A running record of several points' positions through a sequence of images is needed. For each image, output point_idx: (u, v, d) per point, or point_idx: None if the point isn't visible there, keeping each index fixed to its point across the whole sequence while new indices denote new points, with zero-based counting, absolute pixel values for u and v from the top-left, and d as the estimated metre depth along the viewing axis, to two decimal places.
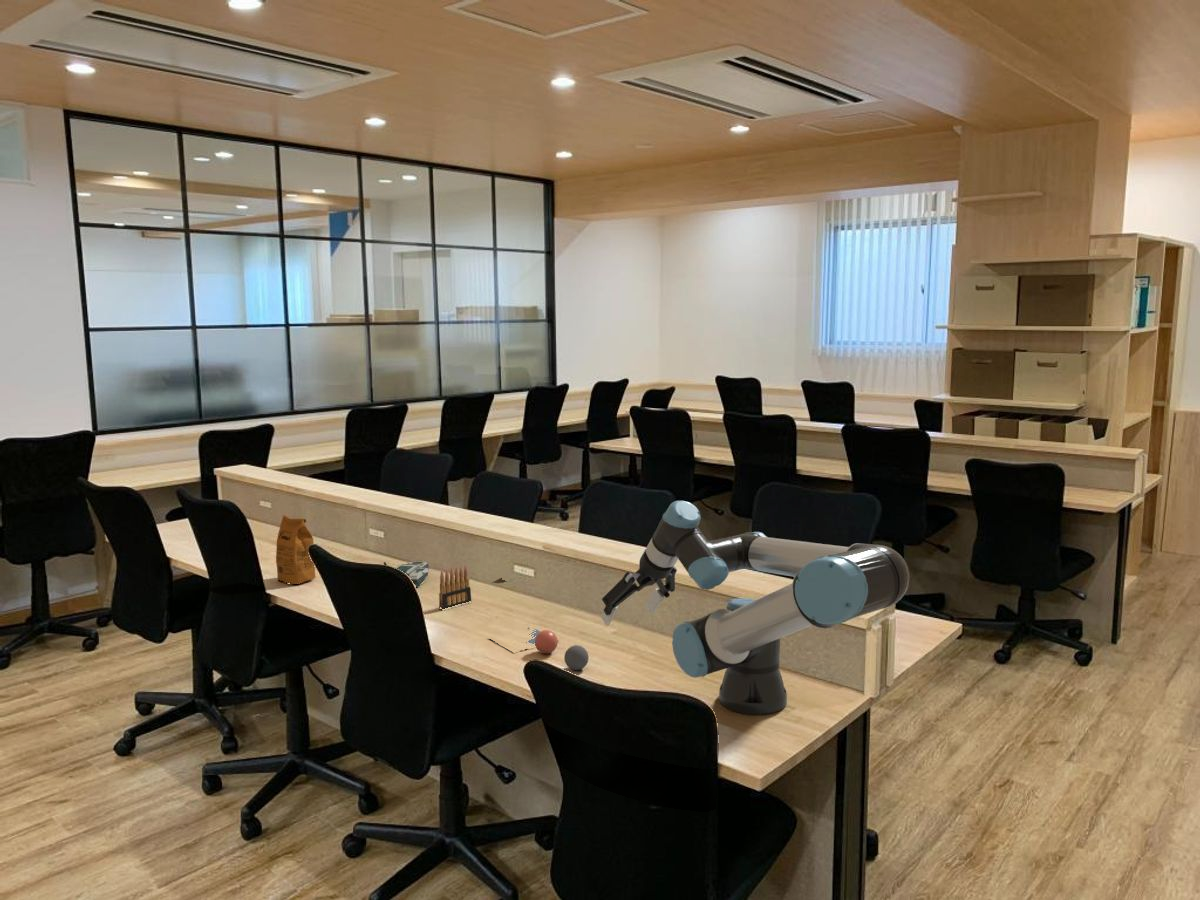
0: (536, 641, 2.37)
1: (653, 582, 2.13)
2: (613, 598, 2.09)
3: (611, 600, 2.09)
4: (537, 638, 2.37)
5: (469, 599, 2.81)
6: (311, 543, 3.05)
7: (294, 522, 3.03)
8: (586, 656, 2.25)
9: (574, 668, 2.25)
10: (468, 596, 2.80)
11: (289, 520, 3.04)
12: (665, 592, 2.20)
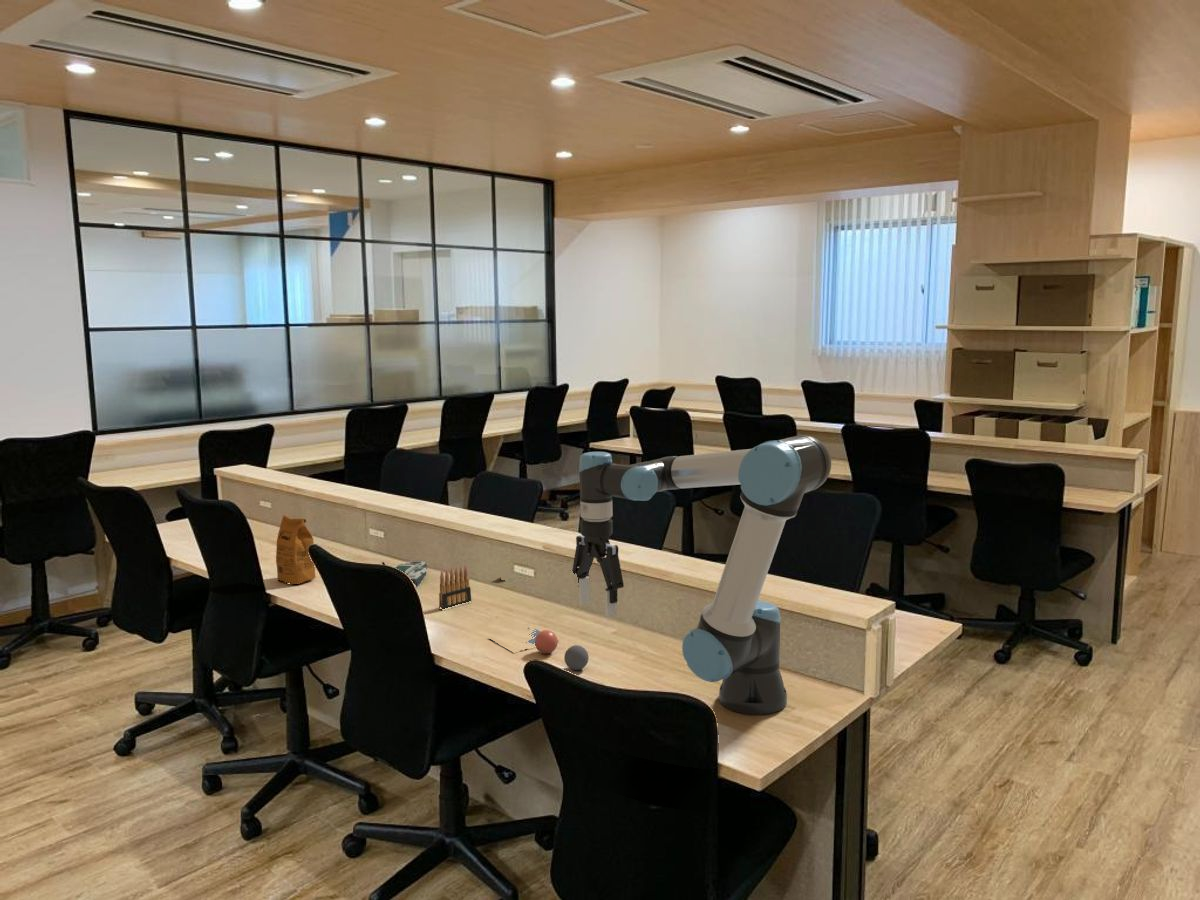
0: (536, 641, 2.37)
1: None
2: (620, 575, 2.10)
3: (621, 578, 2.10)
4: (537, 638, 2.37)
5: (469, 599, 2.81)
6: (311, 543, 3.05)
7: (294, 522, 3.03)
8: (586, 656, 2.25)
9: (574, 668, 2.25)
10: (468, 596, 2.80)
11: (289, 520, 3.04)
12: None
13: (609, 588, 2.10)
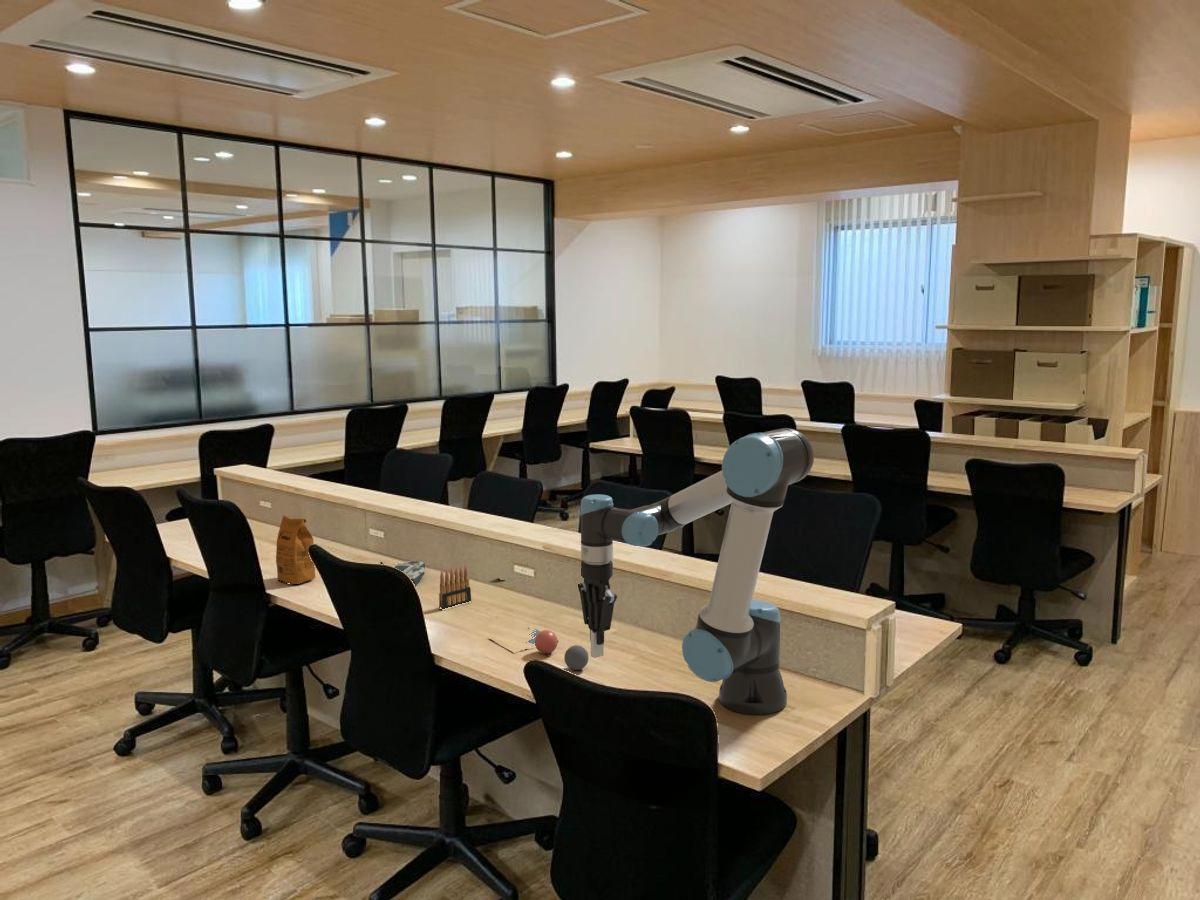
0: (536, 641, 2.37)
1: None
2: (610, 620, 2.15)
3: (609, 623, 2.15)
4: (537, 638, 2.37)
5: (469, 599, 2.81)
6: (311, 543, 3.05)
7: (294, 522, 3.03)
8: (586, 656, 2.25)
9: (574, 668, 2.25)
10: (468, 596, 2.80)
11: (289, 520, 3.04)
12: None
13: (596, 631, 2.16)
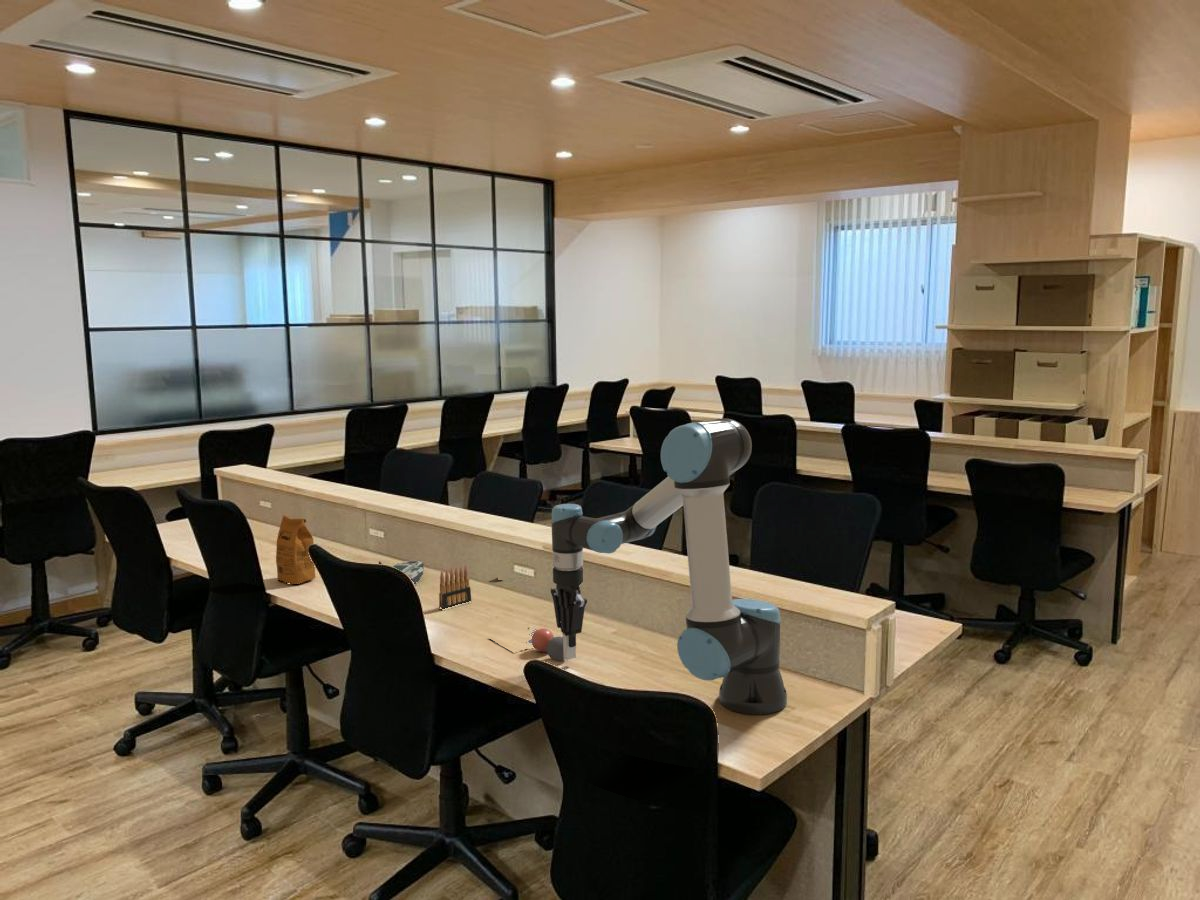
0: (532, 640, 2.38)
1: None
2: (581, 623, 2.25)
3: (580, 626, 2.25)
4: (532, 636, 2.38)
5: (469, 599, 2.81)
6: (311, 543, 3.05)
7: (294, 522, 3.03)
8: None
9: (552, 641, 2.32)
10: (468, 596, 2.80)
11: (289, 520, 3.04)
12: None
13: (568, 634, 2.26)
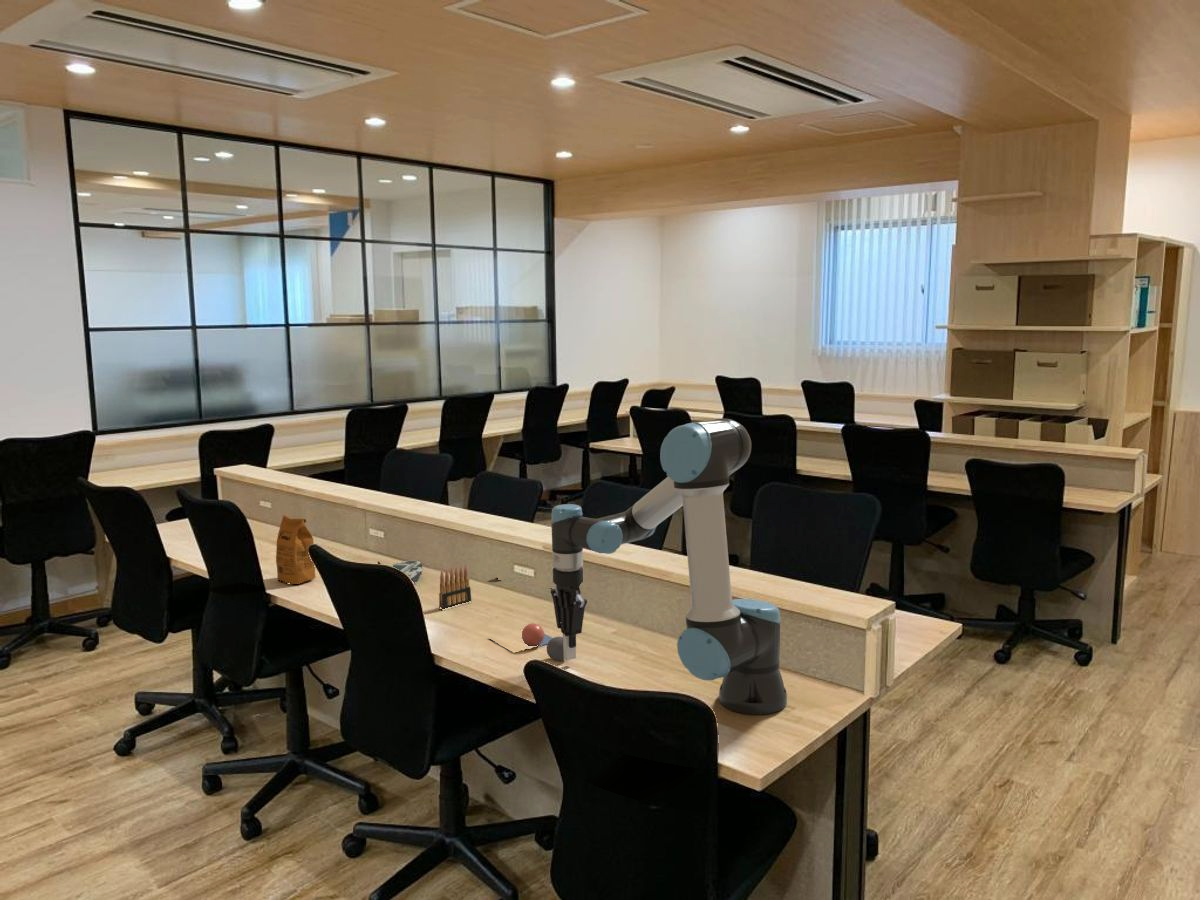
0: (522, 638, 2.42)
1: None
2: (581, 624, 2.25)
3: (580, 626, 2.25)
4: None
5: (469, 599, 2.81)
6: (311, 543, 3.05)
7: (294, 522, 3.03)
8: None
9: (552, 641, 2.32)
10: (468, 596, 2.80)
11: (289, 520, 3.04)
12: None
13: (568, 635, 2.26)
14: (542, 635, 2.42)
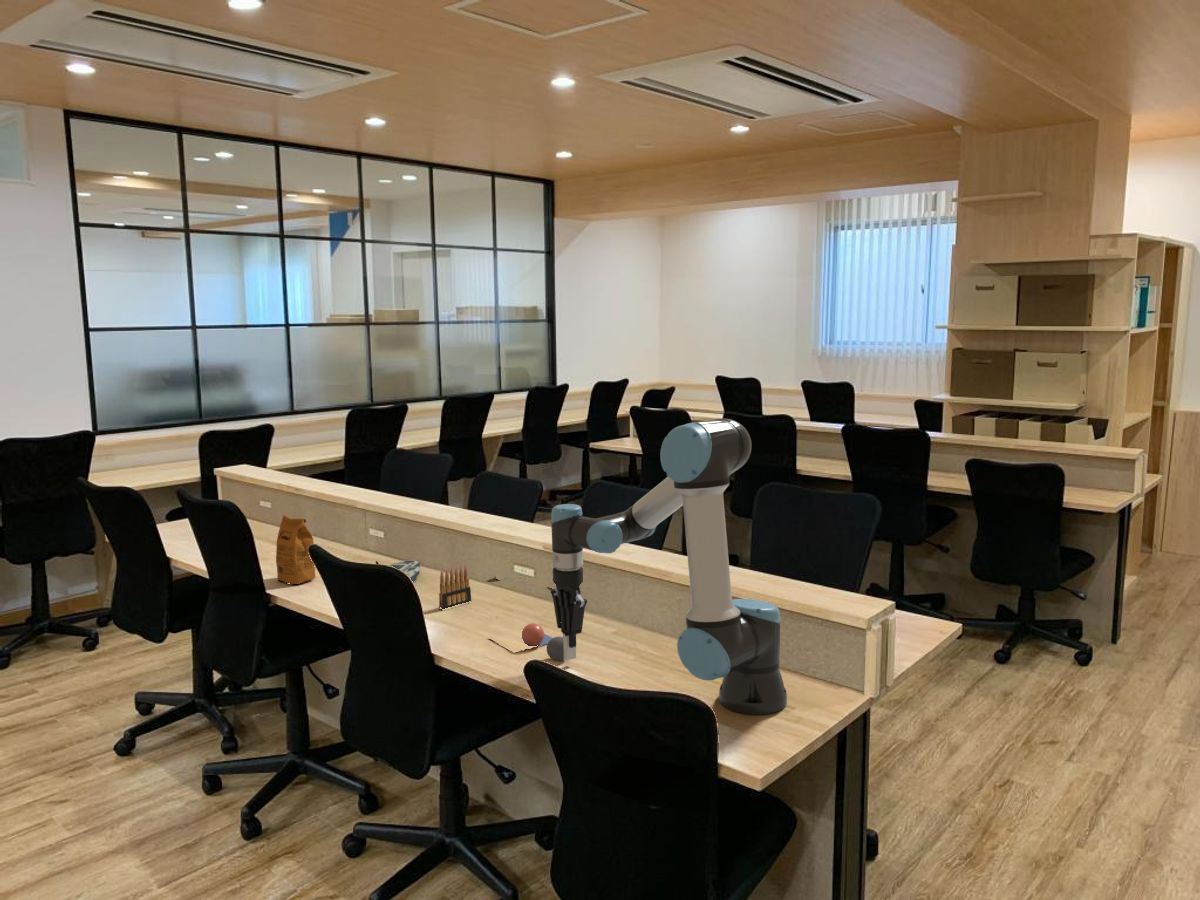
0: (522, 638, 2.42)
1: None
2: (581, 624, 2.25)
3: (581, 626, 2.25)
4: None
5: (469, 599, 2.81)
6: (311, 543, 3.05)
7: (294, 522, 3.03)
8: None
9: (552, 641, 2.32)
10: (468, 596, 2.80)
11: (289, 520, 3.04)
12: None
13: (568, 635, 2.26)
14: (542, 635, 2.42)
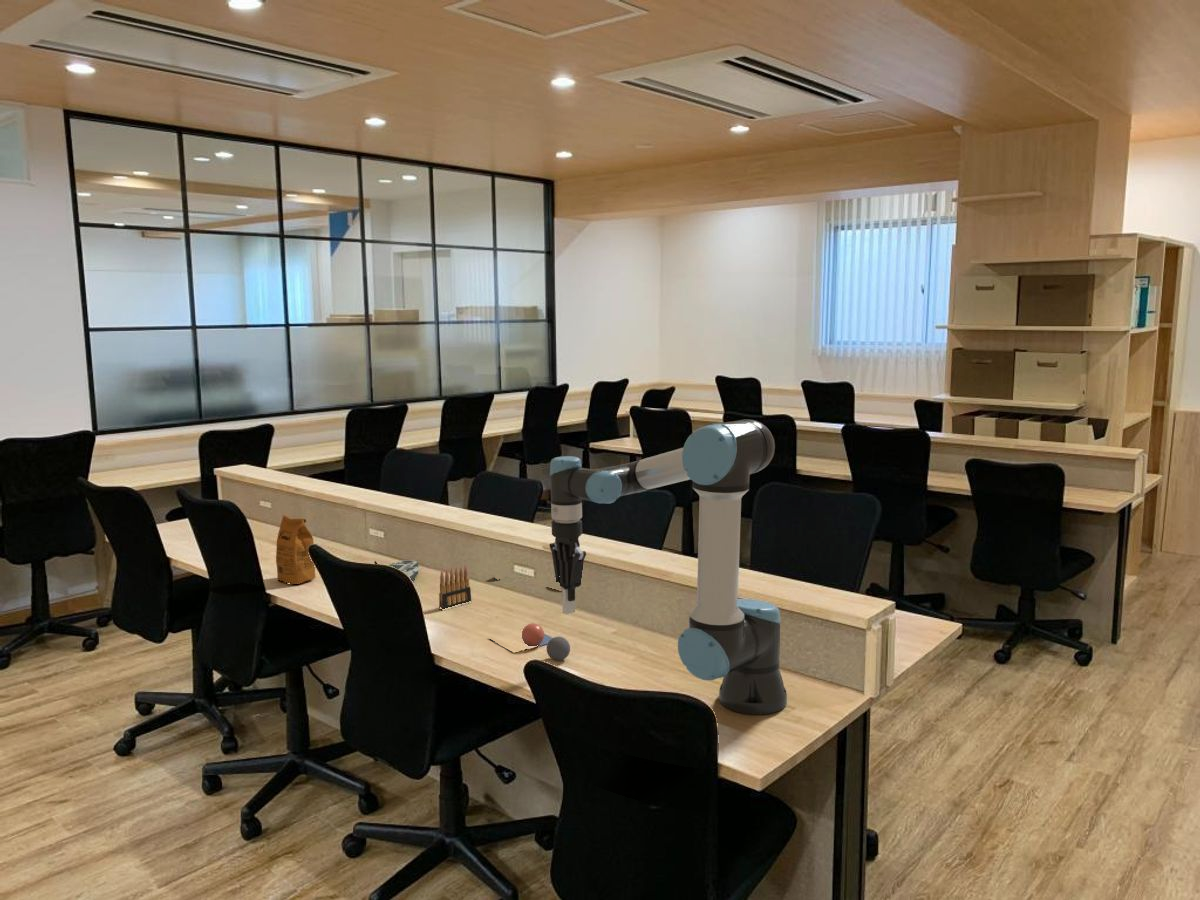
0: (522, 638, 2.42)
1: None
2: (580, 577, 2.23)
3: (580, 579, 2.24)
4: None
5: (469, 599, 2.81)
6: (311, 543, 3.05)
7: (294, 522, 3.03)
8: None
9: (552, 641, 2.32)
10: (468, 596, 2.80)
11: (289, 520, 3.04)
12: None
13: (567, 588, 2.24)
14: (542, 635, 2.42)
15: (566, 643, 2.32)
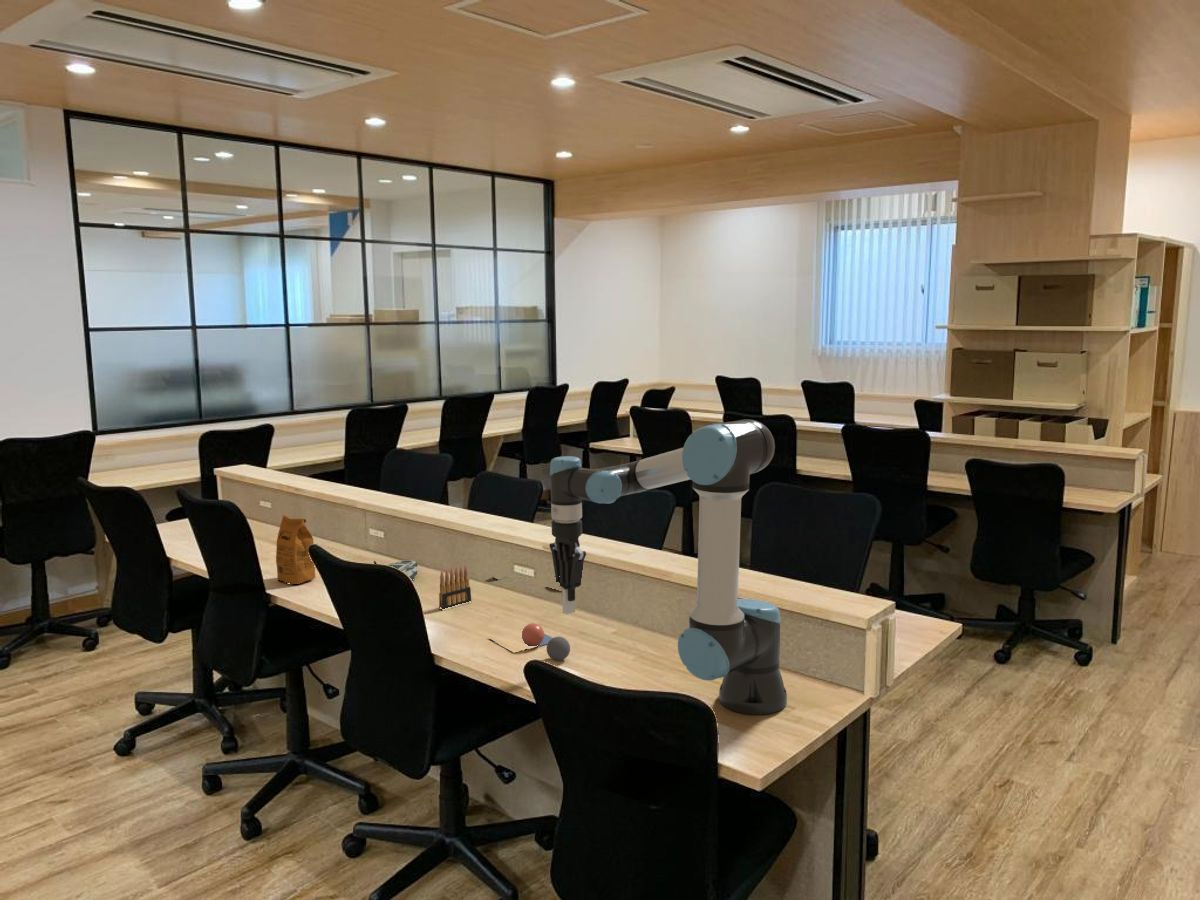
0: (522, 638, 2.42)
1: None
2: (580, 577, 2.23)
3: (580, 579, 2.24)
4: None
5: (469, 599, 2.81)
6: (311, 543, 3.05)
7: (294, 522, 3.03)
8: None
9: (552, 641, 2.32)
10: (468, 596, 2.80)
11: (289, 520, 3.04)
12: None
13: (567, 588, 2.24)
14: (542, 635, 2.42)
15: (566, 643, 2.32)
